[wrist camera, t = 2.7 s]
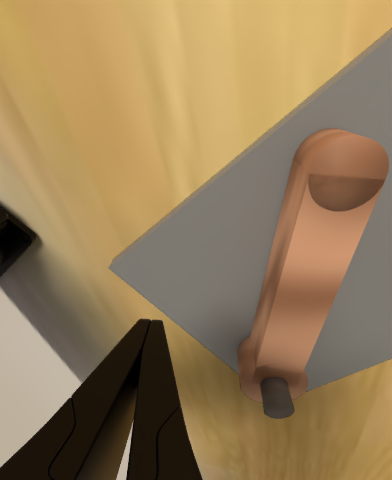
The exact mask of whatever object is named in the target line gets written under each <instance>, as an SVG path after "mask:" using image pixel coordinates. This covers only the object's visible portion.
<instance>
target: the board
mask: <svg viewBox="0 0 392 480" xmlns="http://www.w3.org/2000/svg"><path fill="white" fill-rule="evenodd" d="M325 128H339V129H342V130H345V131H348V132H351V133H355V134H358V135H361V136H364V137H367V138H370V139H373V140H375V141H377V142H378V143H379V144H380V145H381V146H382V147H383V148H384V149H385V151H386V153H387V155H388V160H389V170H388V174H387V177H386V180H385V182H384V185H383V187H382V189H381V192H380V194H379V196H378V199H377V201H376V203H375V206H374V208H373V210H372V213H371V215H370V217H369V220H368V222H367V224H366V227H365V229H364V231H363V234H362V236H361V238H360V241H359V243H358V245H357V248H356V250H355V252H354V255H353V257H352V259H351V262H350V264H349V266H348V269H347V271H346V273H345V276H344V278H343V280H342V283H341V285H340V287H339V290H338V292H337V294H336V297H335V299H334V301H333V304H332V306H331V308H330V310H329V313H328V315H327V317H326V320H325V322H324V324H323V327H322V329H321V331H320V334H319V336H318V338H317V341H316V343H315V345H314V348H313V350H312V352H311V355H310V357H309V359H308V362H307V364H306V366H305V372H306V375H307V378H308V387H307V389H306V391H305V392H307V391H309V390H312V389H314V388H317V387H319V386H322V385H325V384H327V383H330V382H332V381H335V380H338V379H340V378H343V377H345V376H348V375H351V374H353V373H356V372H358V371H361V370H364V369H366V368H369V367H371V366H374V365H377V364H379V363H382V362H384V361H387V360H390V359H392V28H391V29H390V30H389V31H388V32H387V33H385V34H384V35H383V36H382V37H381V38H379V39H378V40H377V41H376V42H374V43H373V44H372V45H371V46H370V47H368V48H367V49H366V50H365V51H364V52H362V53H361V54H360V55H359V56H358V57H356V58H355V59H354V60H353V61H352V62H350V63H349V64H348V65H347V66H346V67H344V68H343V69H342V70H341V71H340V72H338V73H337V74H336V75H335V76H334V77H332V78H331V79H330V80H329V81H328V82H326V83H325V84H324V85H323V86H321V87H320V88H319V89H318V90H317V91H315V92H314V93H313V94H312V95H311V96H309V97H308V98H307V99H306V100H305V101H303V102H302V103H301V104H300V105H299V106H297V107H296V108H295V109H294V110H293V111H291V112H290V113H289V114H288V115H287V116H285V117H284V118H283V119H282V120H281V121H279V122H278V123H277V124H276V125H275V126H273V127H272V128H271V129H270V130H268V131H267V132H266V133H265V134H264V135H262V136H261V137H260V138H259V139H258V140H256V141H255V142H254V143H253V144H252V145H250V146H249V147H248V148H247V149H246V150H244V151H243V152H242V153H241V154H240V155H238V156H237V157H236V158H235V159H234V160H232V161H231V162H230V163H229V164H228V165H226V166H225V167H224V168H223V169H221V170H220V171H219V172H218V173H217V174H215V175H214V176H213V177H212V178H211V179H209V180H208V181H207V182H206V183H205V184H203V185H202V186H201V187H200V188H199V189H197V190H196V191H195V192H194V193H193V194H191V195H190V196H189V197H188V198H187V199H185V200H184V201H183V202H182V203H181V204H179V205H178V206H177V207H176V208H175V209H173V210H172V211H171V212H170V213H168V214H167V215H166V216H165V217H164V218H162V219H161V220H160V221H159V222H158V223H156V224H155V225H154V226H153V227H152V228H150V229H149V230H148V231H147V232H146V233H144V234H143V235H142V236H141V237H140V238H138V239H137V240H136V241H135V242H134V243H132V244H131V245H130V246H129V247H128V248H126V249H125V250H124V251H123V252H122V253H120V254H119V255H118V256H117V257H115V258H114V259H113V261H112V262H111V264H110V266H109V269H110V270H111V271H113V272H114V273H115V274H116V275H117V276H119V277H120V278H121V279H122V280H124V281H125V282H126V283H127V284H128V285H130V286H131V287H132V288H133V289H135V290H136V291H137V292H138V293H140V294H141V295H142V296H143V297H144V298H146V299H147V300H148V301H149V302H151V303H152V304H153V305H154V306H155V307H157V308H158V309H159V310H160V311H162V312H163V313H164V314H165V315H167V316H168V317H169V318H170V319H171V320H173V321H174V322H175V323H176V324H178V325H179V326H180V327H181V328H182V329H184V330H185V331H186V332H187V333H189V334H190V335H191V336H192V337H193V338H195V339H196V340H197V341H198V342H200V343H201V344H202V345H203V346H205V347H206V348H207V349H208V350H209V351H211V352H212V353H213V354H214V355H216V356H217V357H218V358H219V359H220V360H222V361H223V362H224V363H225V364H227V365H228V366H229V367H230V368H232V369H233V370H234V371H235V372H236V373H238V374H239V367H238V357H237V350H238V347H239V345H240V344H241V342H242V341H243V340H245V339H246V338H248V337H249V336H250V335H251V331H252V327H253V323H254V319H255V315H256V311H257V306H258V302H259V298H260V294H261V290H262V286H263V282H264V277H265V273H266V269H267V265H268V261H269V257H270V253H271V248H272V244H273V240H274V236H275V232H276V228H277V224H278V219H279V215H280V211H281V207H282V203H283V199H284V195H285V190H286V186H287V182H288V178H289V174H290V170H291V166H292V161H293V158H294V155H295V152H296V150H297V149H298V147H299V146H300V144H301V143H302V142H303V141H304V140H305V139H306V138H307V137H308V136H310V135H311V134H313V133H315V132H316V131H319V130H322V129H325Z"/></svg>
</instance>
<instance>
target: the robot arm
mask: <svg viewBox="0 0 392 480" xmlns="http://www.w3.org/2000/svg"><path fill="white" fill-rule="evenodd" d="M24 236H26V237H27V238H28V239H26V238H25V237H24ZM35 240H36V236H35V234H34V233H33V232H32V231H31V230H29V229H28V228H27V227H26V226H24V225H23V224H22V223H20V222H19V221H18V220H17V219H15V218H14V217H13V216H11V215H10V214H9V213H8V212H6V211H5V210H4V209H2V208H1V207H0V277H1V276H2V275H3V274H4V273H5V272H6V271H7V270H8V269H9V268H10V267H11V266H12V265H13V264H14V263H15V261H16V260H17V259H18V258H19V257H20V256H21V255H22V254H23V253H24V252H25V251H26V250H27V249H28V248H29V247H30V246H31V245H32V244H33V243H34V242H35ZM133 419H134V421H133ZM132 423H133V429H132V437H131V446H130V453H129V462H128V470H127V478H126V480H203V479H202V476H201V473H200V471H199V468H198V465H197V462H196V459H195V456H194V453H193V450H192V447H191V444H190V441H189V437H188V434H187V430H186V426H185V422H184V417H183V413H182V408H181V404H180V399H179V395H178V390H177V385H176V381H175V376H174V371H173V367H172V362H171V358H170V353H169V348H168V344H167V339H166V334H165V330H164V325H163V321H162V320H152V321H151V320H150V319H139V320H138V321H137V323H136V324H135V325H134V326H133V327H132V328H131V329H130V330H129V332H128V333H127V334H126V335H125V336H124V337H123V338H122V339H121V341H120V342H119V343H118V344H117V345H116V346H115V347H114V348H113V350H112V351H111V352H110V353H109V354H108V355H107V356H106V357H105V359H104V360H103V361H102V362H101V363H100V364H99V365H98V366H97V368H96V369H95V370H94V371H93V372H92V373H91V374H90V375H89V377H88V378H87V379H86V380H85V381H84V382H83V383H82V384H81V386H80V387H79V388H78V389H77V390H76V391H75V392H74V393H73V395H72V397H71V398H69V399H68V400H67V401H66V402H65V403H64V405H63V406H62V407H61V408H60V409H59V410H58V411H57V412H56V413H55V414H54V416H53V417H52V418H51V419H50V420H49V421H48V422H47V423H46V424H45V425H44V426H43V427H42V428H41V429H40V430H39V431H38V432H37V433H36V434H35V435H34V436H33V437H32V438H31V439H30V440H29V441H28V442H27V443H26V444H25V445H24V446H23V447H21V448H20V449H19V450H18V451H17V452H16V453H15V454H14V455H13V456H12V457H11V458H10V459H9V460H8V461H7V462H6V463H5V464H4V465H3V466H2V467H1V468H0V480H116V478H117V474H118V471H119V467H120V464H121V460H122V457H123V454H124V450H125V447H126V443H127V440H128V436H129V433H130V429H131V426H132Z"/></svg>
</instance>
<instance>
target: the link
mask: <svg viewBox="0 0 392 480" xmlns="http://www.w3.org/2000/svg"><path fill="white" fill-rule="evenodd" d="M388 170H389V160H388V155H387V153H386V151H385V149H384V148H383V147H382V146H381V145H380V144H379V143H378V142H377V141H375V140H373V139H370V138H367V137H364V136H361V135H358V134H355V133H351V132H348V131H345V130H342V129H339V128H325V129H322V130H319V131H316V132H315V133H313V134H311V135H310V136H308V137H307V138H306V139H305V140H304V141H303V142H302V143H301V144H300V146H299V147H298V149H297V150H296V152H295V155H294V158H293V161H292V166H291V170H290V174H289V178H288V182H287V186H286V190H285V195H284V199H283V203H282V207H281V211H280V215H279V219H278V224H277V228H276V232H275V236H274V240H273V244H272V248H271V253H270V257H269V261H268V265H267V269H266V273H265V277H264V282H263V286H262V290H261V294H260V298H259V302H258V306H257V311H256V315H255V319H254V323H253V327H252V331H251V335H250V336H249V337H248V338H246V339H245V340H243V341H242V342H241V344H240V345H239V347H238V350H237V357H238V367H239V378H240V388H241V390H242V392H243V393H244V395H245V396H247V397H248V398H250V399H252V400H254V401H256V402H260V403H263V408H264V413H265V414H266V415H267V416H268V417H271V418H276V419H281V418H286V417H289V416H291V415H292V414H293V413H294V406H293V402H292V400H294V399H296V398H298V397H299V396H301V395H302V394H303V393H304V392H305V391H306V389H307V387H308V378H307V375H306V372H305V366H306V364H307V362H308V359H309V357H310V355H311V352H312V350H313V348H314V345H315V343H316V341H317V338H318V336H319V334H320V331H321V329H322V327H323V324H324V322H325V320H326V317H327V315H328V313H329V310H330V308H331V306H332V304H333V301H334V299H335V297H336V294H337V292H338V290H339V287H340V285H341V283H342V280H343V278H344V276H345V273H346V271H347V269H348V266H349V264H350V262H351V259H352V257H353V255H354V252H355V250H356V248H357V245H358V243H359V241H360V238H361V236H362V234H363V231H364V229H365V227H366V224H367V222H368V220H369V217H370V215H371V213H372V210H373V208H374V206H375V203H376V201H377V199H378V196H379V194H380V192H381V189H382V187H383V185H384V182H385V180H386V177H387V174H388Z"/></svg>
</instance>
